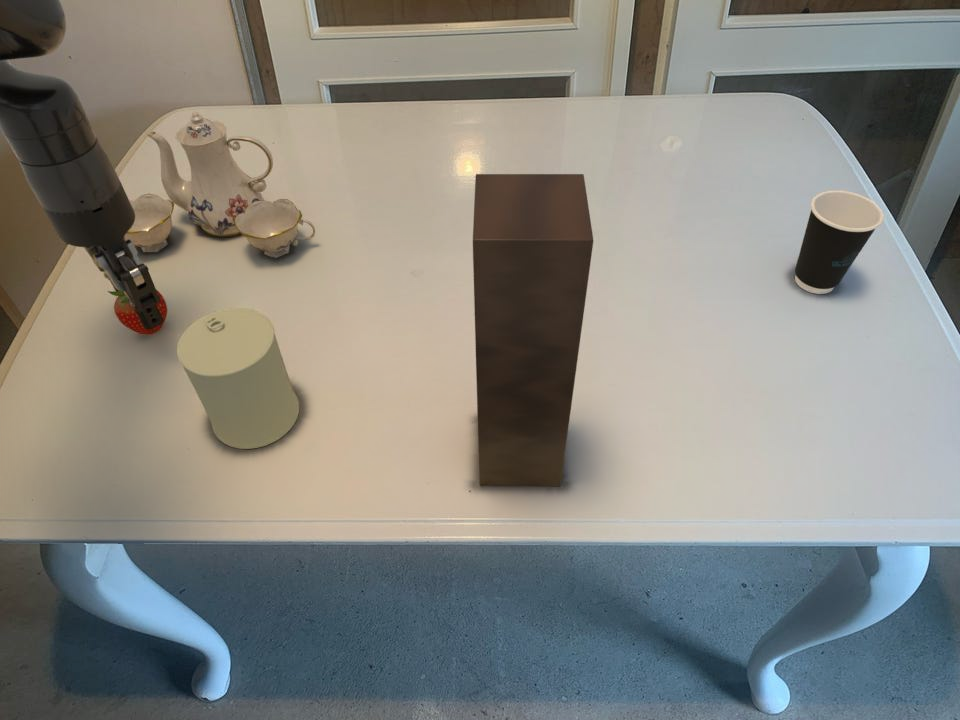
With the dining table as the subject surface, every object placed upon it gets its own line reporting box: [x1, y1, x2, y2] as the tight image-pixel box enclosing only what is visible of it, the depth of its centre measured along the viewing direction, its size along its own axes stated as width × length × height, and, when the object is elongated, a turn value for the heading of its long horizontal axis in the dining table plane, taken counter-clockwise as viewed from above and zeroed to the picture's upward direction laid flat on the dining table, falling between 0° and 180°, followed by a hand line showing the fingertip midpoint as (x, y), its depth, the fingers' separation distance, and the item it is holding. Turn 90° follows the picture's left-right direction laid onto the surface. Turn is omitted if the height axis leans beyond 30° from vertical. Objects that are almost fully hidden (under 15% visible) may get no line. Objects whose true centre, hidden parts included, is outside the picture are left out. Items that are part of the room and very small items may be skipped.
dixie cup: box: [794, 189, 885, 295], centre depth 83 cm, size 8×8×11 cm
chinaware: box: [124, 111, 316, 259], centre depth 90 cm, size 28×17×17 cm, turn 91°
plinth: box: [472, 173, 594, 487], centre depth 59 cm, size 8×8×30 cm
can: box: [176, 307, 300, 450], centre depth 69 cm, size 9×9×12 cm
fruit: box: [107, 288, 168, 336], centre depth 79 cm, size 5×5×8 cm
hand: (143, 312), depth 80 cm, fingers closed on fruit, 5 cm apart
